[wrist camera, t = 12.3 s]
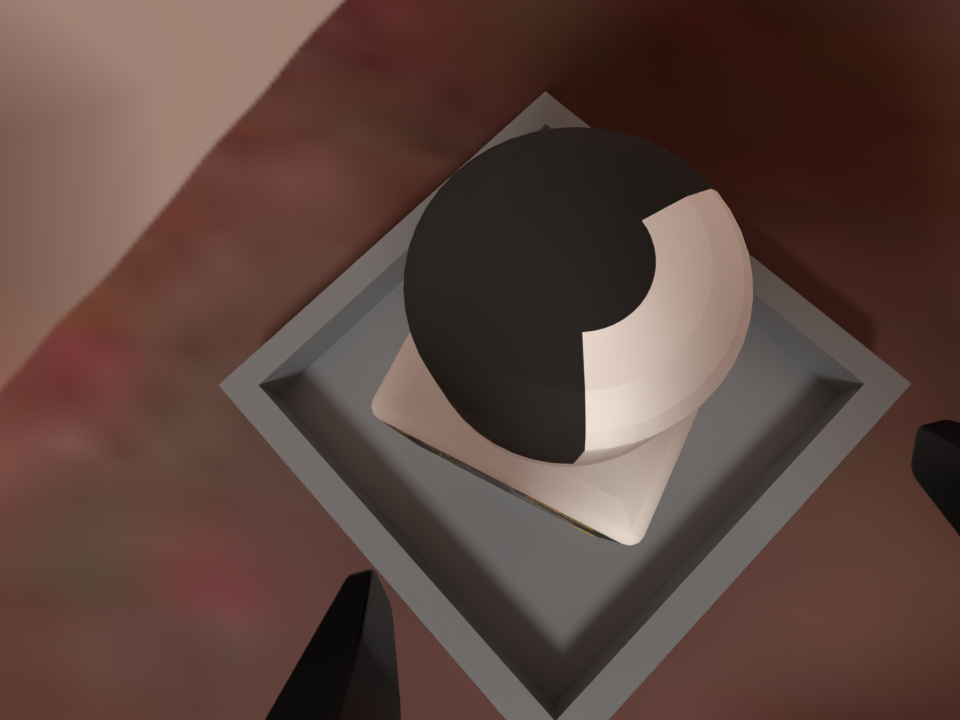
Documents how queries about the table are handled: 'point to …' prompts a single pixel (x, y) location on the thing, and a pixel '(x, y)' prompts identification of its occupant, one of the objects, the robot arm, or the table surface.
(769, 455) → the tray
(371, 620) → the robot arm
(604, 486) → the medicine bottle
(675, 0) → the table surface
